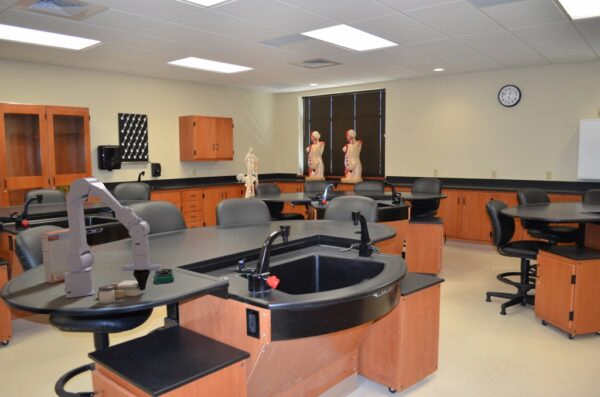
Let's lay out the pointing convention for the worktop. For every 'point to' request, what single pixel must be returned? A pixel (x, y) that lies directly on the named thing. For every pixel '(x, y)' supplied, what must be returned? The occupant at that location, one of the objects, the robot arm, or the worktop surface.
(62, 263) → the cracker box
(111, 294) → the jar
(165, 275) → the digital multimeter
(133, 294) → the carton
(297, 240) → the worktop surface
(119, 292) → the display stand
